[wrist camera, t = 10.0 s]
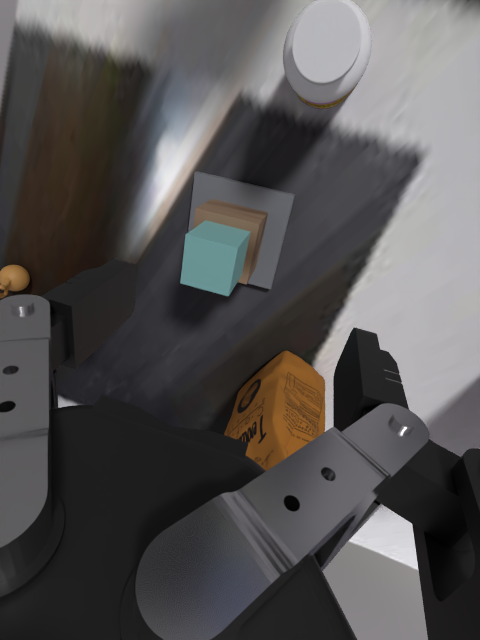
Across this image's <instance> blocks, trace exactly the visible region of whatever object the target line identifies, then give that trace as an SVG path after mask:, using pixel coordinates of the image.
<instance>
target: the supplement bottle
mask: <svg viewBox="0 0 480 640" xmlns="http://www.w3.org/2000/svg"><path fill="white" fill-rule="evenodd" d="M371 44H372V40H371V31H370V26H369V23H368V20H367V18H366V16H365V14H364V13H363V11H362V10H361V9H360V7H359V6H357V5H356V4H355V3H354V2H352V1H351V0H316V1H314V2H312V3H311V4H309V5H308V6H307V7H305V8H304V9H303V10H302V11H301V12H300V13H299V14H298V16H297V17H296V18H295V20H294V21H293V23H292V25H291V27H290V29H289V31H288V33H287V36H286V40H285V44H284V50H283V64H284V69H285V73H286V77H287V79H288V81H289V83H290V85H291V87H292V88H293V90H294V91H295V92H296V93H297V95H298V96H299V97H300V99H301V100H302V101H303V102H305V103H306V104H307V105H309V106H311V107H314V108H318V109H326V108H331V107H334V106H336V105H338V104H340V103H341V102H342V101H344V100H345V99H346V98H347V97H348V96H349V95H350V94H351V93H352V91H353V90H354V88H355V87H356V85H357V84H358V82H359V81H360V79H361V77H362V76H363V74H364V72H365V70H366V67H367V65H368V62H369V58H370V54H371Z"/></svg>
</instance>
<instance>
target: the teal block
mask: <svg viewBox="0 0 480 640" xmlns="http://www.w3.org/2000/svg"><path fill="white" fill-rule="evenodd" d="M249 237H250V231H246V230H242V229H238V228H234V227H230V226H226V225H222V224H218V223H214V222H210V221H206V220H205V221H204V222H202V223H201V224H200V225H198V226H197V227H195V228H194V229H193V230H191V231H190V232H188V233H187V234H186V237H185V246H184V255H183V264H182V273H181V282H180V283H181V284H185V285H188V286H192V287H196V288H199V289H203V290H207V291H210V292H214V293H218V294H221V295H225V296H229V295H230V293H231V292H232V290H233V288H234V287H235V285H236V284H237V282H238V280H239V279H240V277H241V275H242V271H243V267H244V262H245V257H246V252H247V247H248V242H249Z"/></svg>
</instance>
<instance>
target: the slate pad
mask: <svg viewBox="0 0 480 640" xmlns="http://www.w3.org/2000/svg"><path fill="white" fill-rule="evenodd" d="M294 197H295V194H292V193H287V192H283V191H279V190H275V189H270V188H266V187H262V186H258V185H254V184H249V183H245V182H241V181H237V180H232V179H228V178H224V177H220V176H216V175H211V174H207V173H203V172H199V171H197V172H195V175H194V184H193V193H192V202H191V211H190V220H189V228H188V232H190V231H191V230H193V226H194V217H195V209H196V208H197V207H198V206H200V205H202V204H204V203H205V202H207V201H209V200H211V199H215V200H219V201H223V202H227V203H232V204H236V205H240V206H244V207H248V208H252V209H256V210H260V211H264V212H268V216H267V220H266V225H265V229H264V234H263V238H262V243H261V247H260V252H259V256H258V261H257V265H256V268H255V270H254V272H253V274H252V276H251V277H250V279H249V281H248V284H252V285H256V286H259V287H263V288H267V289H271V287H272V284H273V280H274V276H275V272H276V268H277V264H278V260H279V256H280V252H281V248H282V244H283V241H284V237H285V233H286V229H287V225H288V221H289V217H290V213H291V209H292V205H293V201H294Z"/></svg>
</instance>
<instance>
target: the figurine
mask: <svg viewBox="0 0 480 640" xmlns="http://www.w3.org/2000/svg"><path fill="white" fill-rule="evenodd" d="M29 282H30V276H29V273H28V272H27V270H26V269H25V268H23V267H21V266H19V265H8V266H6V267H4V268H3V269H2V270H1V271H0V283H1V285H0V289H2V290H4V294H3V293H0V298H3V297H5V296H6V295H7V294H8V290H11V291H20V290H23V289H24V288H26V287H27V286H28V284H29Z"/></svg>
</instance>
